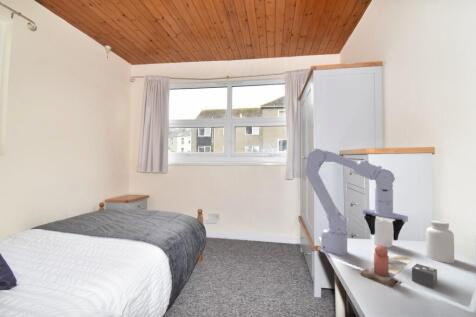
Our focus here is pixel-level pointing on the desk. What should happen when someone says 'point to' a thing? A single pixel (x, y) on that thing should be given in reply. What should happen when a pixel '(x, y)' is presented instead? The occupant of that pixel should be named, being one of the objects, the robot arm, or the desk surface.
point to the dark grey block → (424, 275)
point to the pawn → (381, 261)
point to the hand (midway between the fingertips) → (383, 236)
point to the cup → (383, 232)
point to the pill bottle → (440, 242)
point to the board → (393, 268)
